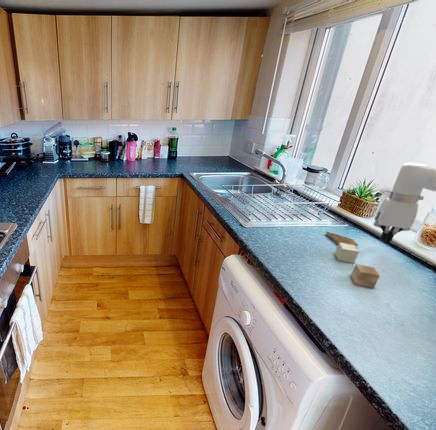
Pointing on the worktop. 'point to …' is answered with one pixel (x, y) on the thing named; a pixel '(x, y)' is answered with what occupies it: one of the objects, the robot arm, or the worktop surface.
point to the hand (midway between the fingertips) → (384, 241)
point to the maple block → (365, 276)
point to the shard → (341, 239)
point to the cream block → (346, 252)
